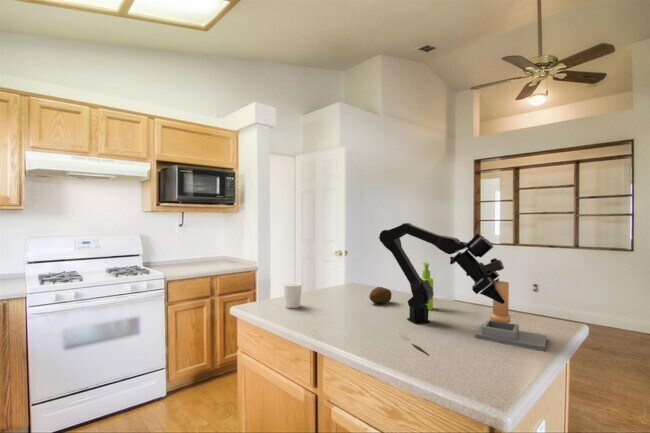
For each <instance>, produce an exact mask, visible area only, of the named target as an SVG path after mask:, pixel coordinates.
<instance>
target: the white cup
mask: <svg viewBox="0 0 650 433" xmlns="http://www.w3.org/2000/svg"><path fill="white" fill-rule="evenodd" d="M302 285H303V284H302V283H300V282H286V283H283V292H284V293H283V295H284V307H285V308H287V309H296V308H300V307H301V299H302V298H301V297H302Z"/></svg>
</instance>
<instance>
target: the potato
mask: <svg viewBox="0 0 650 433" xmlns="http://www.w3.org/2000/svg"><path fill="white" fill-rule="evenodd" d="M391 299H392V292H391V290H390V289H389V288H386V287H382V286H378V287H375V288H373V289H372V290H371V292H370V293H369V300H370V301H371V302H372V303H375V304H387V303H389V302H390V301H391Z"/></svg>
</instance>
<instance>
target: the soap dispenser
mask: <svg viewBox="0 0 650 433" xmlns="http://www.w3.org/2000/svg"><path fill="white" fill-rule="evenodd" d="M422 265H424V266H423V268H424V269H423V270H422V273H421V274H422V276H421V277H420V278H421V279H422V280H424V281H425V280H428V281H429V283H430V285H431V287H432V288H433V289H432V290H433V291H434V279H433V278H432V277H431V270H429V267H430V263H428V262H422ZM426 305H428V311H432V310H433V309H434V297H433V298H432V299H431V300H429V302H428V304H426Z"/></svg>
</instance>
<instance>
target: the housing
mask: <svg viewBox="0 0 650 433" xmlns="http://www.w3.org/2000/svg"><path fill="white" fill-rule="evenodd" d="M474 338H476V339H480V340H486V341H490V342H494V343H500V344H506V345H512V346H517V347H522V348H526V349H532V350H538V351H544V352H545V351H546V346H547V345H546V344H547V334H542V333H535V332H529V331H523V330H520V324H518V323H512V322H509V323H500V322H495V321H492V320H491V319H486V321H485V322H484V323H483V324H481V325H480V326H479V328H477V330H476V332H475V333H474Z"/></svg>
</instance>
